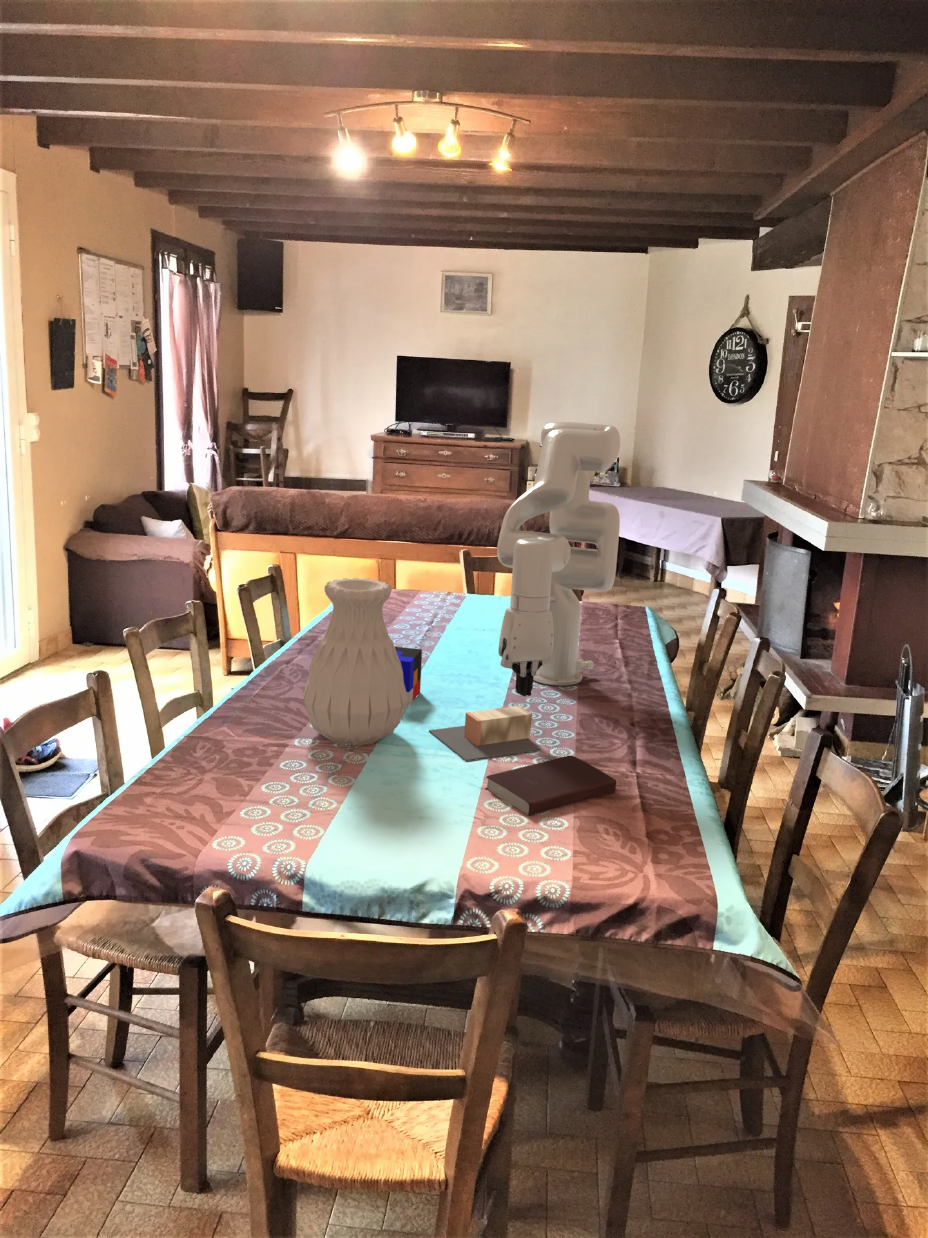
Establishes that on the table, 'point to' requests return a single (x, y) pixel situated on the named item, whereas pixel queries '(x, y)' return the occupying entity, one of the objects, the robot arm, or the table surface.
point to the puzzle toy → (411, 670)
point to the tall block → (497, 725)
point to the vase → (356, 668)
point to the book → (550, 784)
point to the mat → (470, 751)
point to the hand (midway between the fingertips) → (523, 693)
